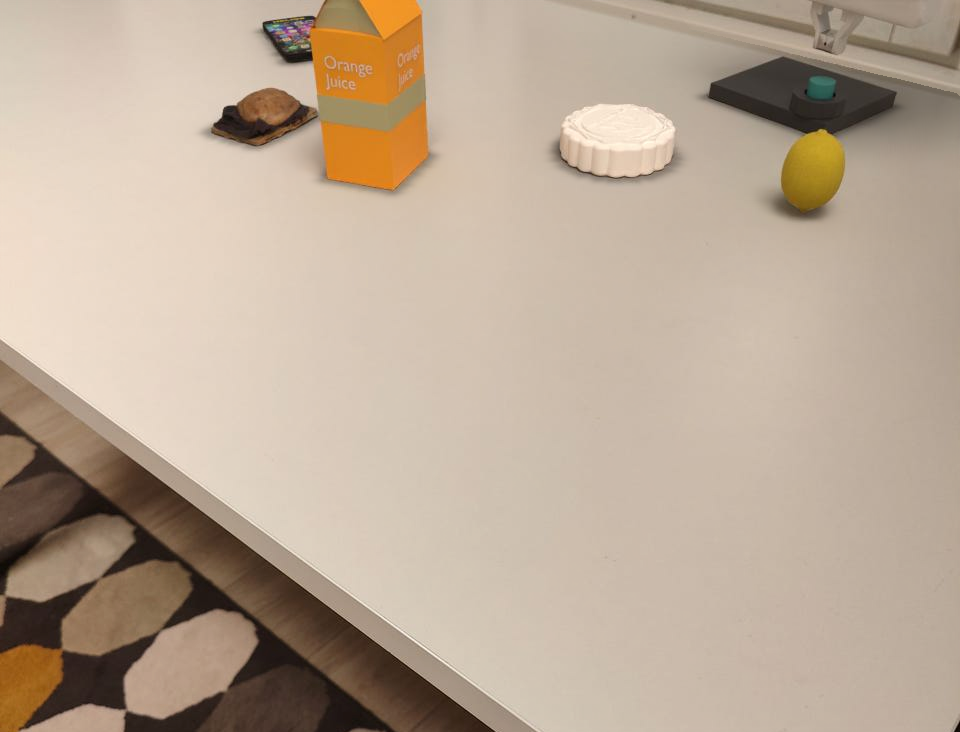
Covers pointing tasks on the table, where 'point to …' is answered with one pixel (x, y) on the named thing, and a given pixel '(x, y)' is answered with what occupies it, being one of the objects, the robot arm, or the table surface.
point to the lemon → (813, 170)
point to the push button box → (801, 96)
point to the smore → (262, 116)
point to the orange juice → (370, 89)
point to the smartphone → (291, 36)
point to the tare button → (821, 87)
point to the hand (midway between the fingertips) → (827, 50)
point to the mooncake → (617, 140)
